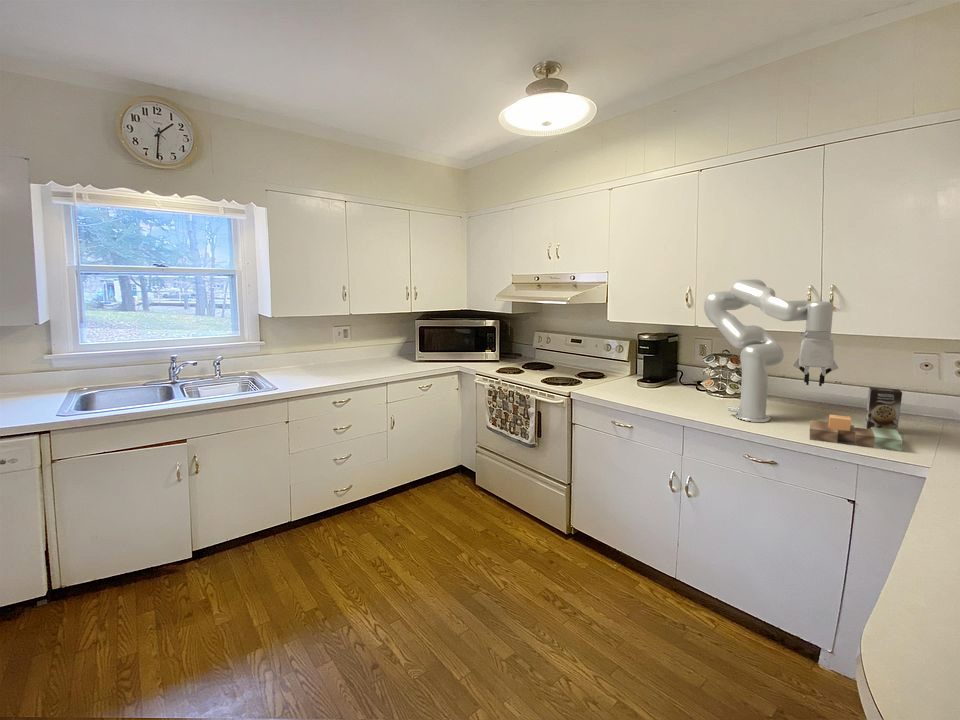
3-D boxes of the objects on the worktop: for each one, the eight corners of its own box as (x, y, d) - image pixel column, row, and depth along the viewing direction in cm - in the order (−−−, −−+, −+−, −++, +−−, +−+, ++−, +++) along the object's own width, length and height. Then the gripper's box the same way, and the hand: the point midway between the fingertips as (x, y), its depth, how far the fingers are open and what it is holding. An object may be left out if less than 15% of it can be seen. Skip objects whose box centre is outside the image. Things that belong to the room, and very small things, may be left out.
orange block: (829, 428, 169) (829, 417, 169) (828, 424, 173) (829, 414, 173) (850, 430, 166) (851, 419, 165) (849, 427, 170) (850, 416, 169)
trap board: (809, 439, 170) (810, 428, 169) (809, 430, 180) (810, 420, 180) (901, 451, 155) (902, 440, 155) (895, 440, 166) (896, 429, 165)
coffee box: (866, 431, 177) (870, 389, 175) (864, 426, 182) (868, 386, 180) (897, 434, 172) (902, 392, 170) (894, 430, 177) (899, 388, 175)
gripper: (790, 335, 171) (786, 384, 174) (847, 337, 162) (842, 389, 164) (791, 333, 177) (787, 381, 180) (845, 335, 168) (841, 385, 170)
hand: (813, 384), depth 172 cm, fingers open, 3 cm apart
